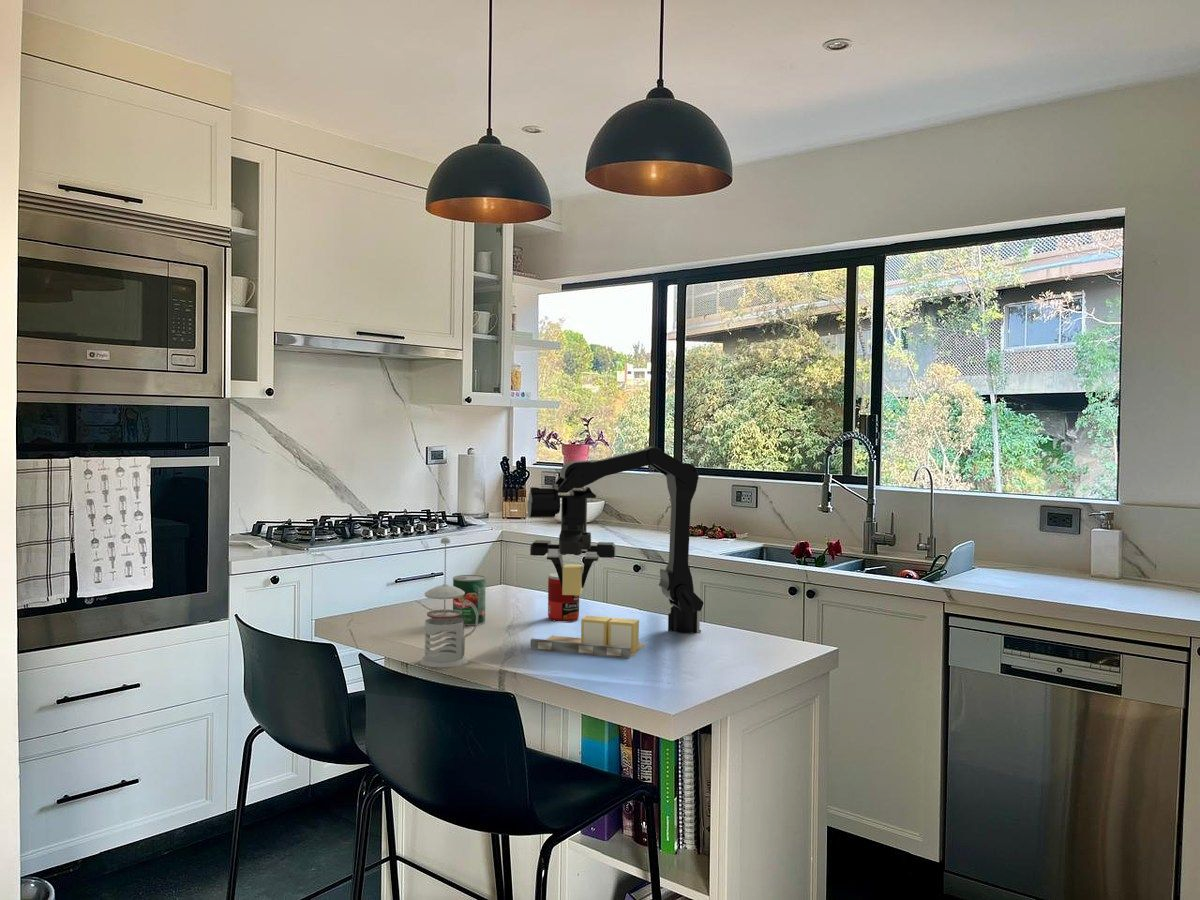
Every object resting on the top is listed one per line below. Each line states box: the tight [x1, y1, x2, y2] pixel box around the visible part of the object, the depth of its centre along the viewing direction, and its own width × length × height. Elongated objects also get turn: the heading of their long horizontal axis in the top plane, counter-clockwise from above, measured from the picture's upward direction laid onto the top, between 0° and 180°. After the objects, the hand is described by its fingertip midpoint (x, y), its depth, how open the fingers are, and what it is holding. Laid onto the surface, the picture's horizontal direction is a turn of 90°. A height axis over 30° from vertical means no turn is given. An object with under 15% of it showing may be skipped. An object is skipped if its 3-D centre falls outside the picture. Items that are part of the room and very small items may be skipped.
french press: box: [419, 537, 478, 668], centre depth 178 cm, size 10×12×25 cm
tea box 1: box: [580, 615, 613, 645], centre depth 188 cm, size 6×4×6 cm
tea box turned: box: [562, 563, 584, 596], centre depth 198 cm, size 6×4×6 cm
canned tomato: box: [452, 574, 487, 626], centre depth 214 cm, size 8×8×11 cm
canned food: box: [547, 572, 580, 622], centre depth 220 cm, size 8×8×11 cm
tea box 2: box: [608, 617, 640, 652], centre depth 186 cm, size 6×4×6 cm
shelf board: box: [529, 635, 646, 660], centre depth 188 cm, size 22×13×3 cm, turn 73°
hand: (572, 587), depth 198 cm, fingers closed on tea box turned, 4 cm apart
